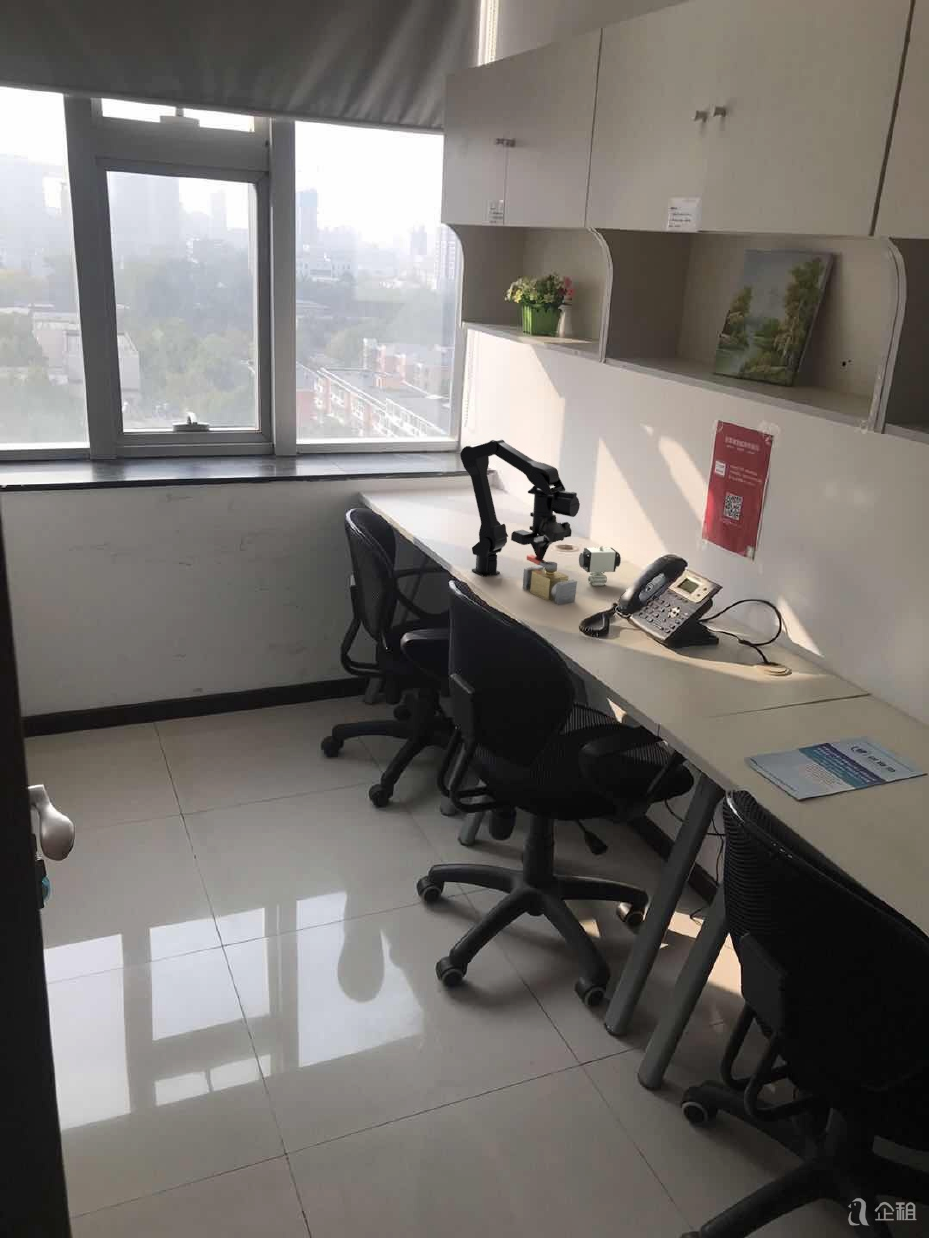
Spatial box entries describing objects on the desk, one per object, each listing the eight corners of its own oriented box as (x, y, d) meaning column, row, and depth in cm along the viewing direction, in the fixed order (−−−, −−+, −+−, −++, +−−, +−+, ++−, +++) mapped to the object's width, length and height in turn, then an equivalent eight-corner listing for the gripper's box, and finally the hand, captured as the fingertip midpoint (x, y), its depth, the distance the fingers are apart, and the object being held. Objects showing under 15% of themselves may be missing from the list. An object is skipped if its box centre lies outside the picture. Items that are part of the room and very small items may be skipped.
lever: (559, 571, 281) (559, 564, 281) (549, 572, 279) (550, 565, 279) (534, 559, 291) (534, 552, 290) (524, 560, 289) (524, 554, 288)
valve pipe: (521, 588, 288) (523, 564, 286) (539, 585, 292) (541, 561, 290) (557, 605, 276) (559, 580, 274) (575, 601, 280) (578, 577, 278)
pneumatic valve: (617, 586, 295) (622, 548, 291) (581, 587, 293) (585, 549, 288) (611, 580, 300) (615, 543, 296) (575, 581, 298) (578, 543, 293)
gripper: (536, 521, 272) (532, 574, 278) (586, 513, 282) (581, 564, 288) (511, 512, 280) (508, 564, 286) (560, 504, 291) (557, 554, 296)
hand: (539, 561), depth 289 cm, fingers closed
